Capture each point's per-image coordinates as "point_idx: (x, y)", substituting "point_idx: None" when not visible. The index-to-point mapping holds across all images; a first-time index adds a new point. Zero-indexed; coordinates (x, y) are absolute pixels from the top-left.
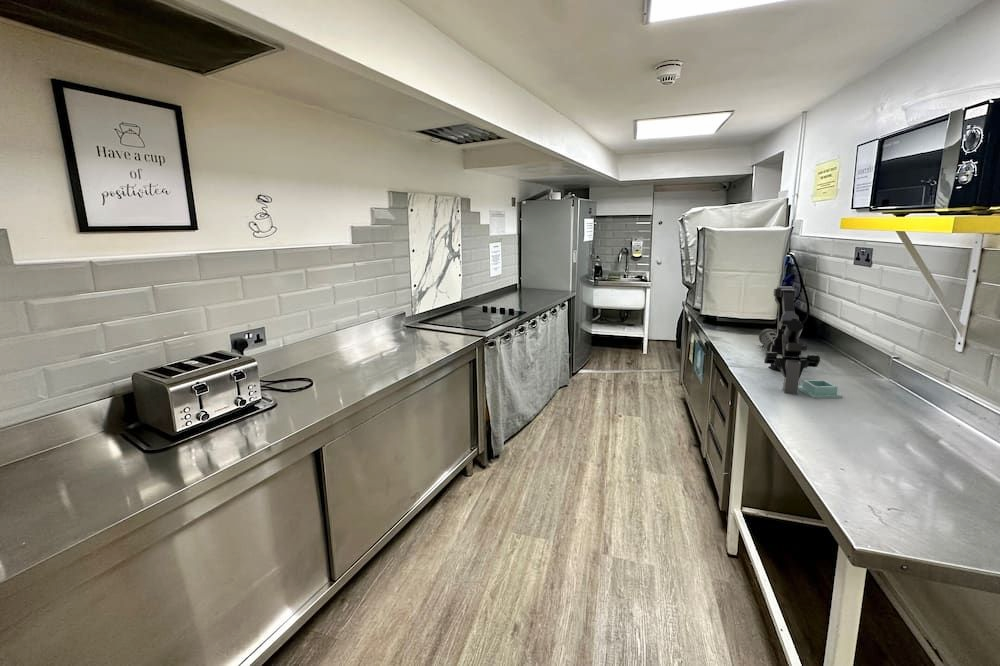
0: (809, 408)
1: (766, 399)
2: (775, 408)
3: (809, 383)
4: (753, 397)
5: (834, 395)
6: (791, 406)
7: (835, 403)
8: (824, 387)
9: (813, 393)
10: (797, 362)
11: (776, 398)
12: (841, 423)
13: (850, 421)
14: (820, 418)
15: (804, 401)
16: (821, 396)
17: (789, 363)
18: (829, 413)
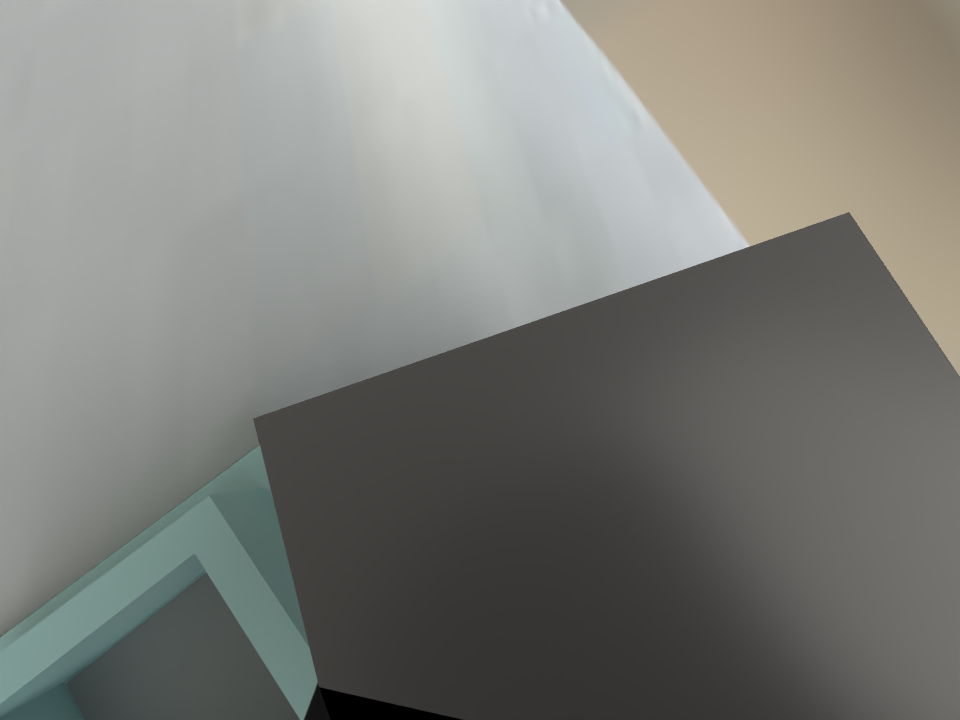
0: (285, 156)
1: (593, 169)
2: (486, 40)
3: (289, 637)
4: (680, 158)
5: (50, 600)
6: (405, 127)
7: (82, 402)
8: (88, 591)
9: (268, 497)
10: (462, 526)
11: (542, 232)
12: (80, 7)
13: (15, 65)
14: (206, 21)
15: (338, 291)
16: (196, 497)
17: (742, 254)
18: (146, 134)
